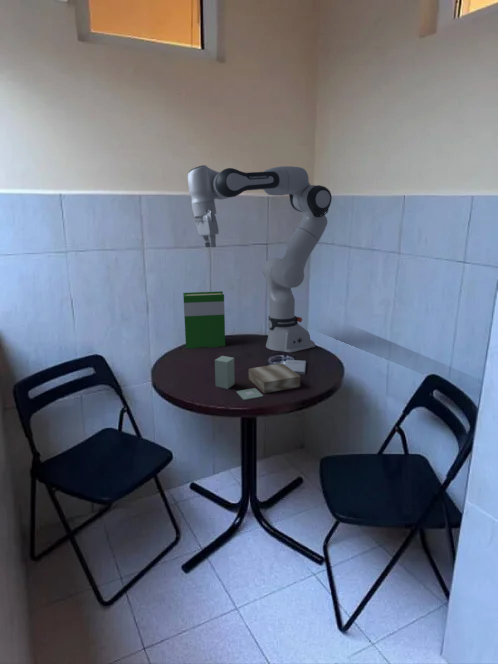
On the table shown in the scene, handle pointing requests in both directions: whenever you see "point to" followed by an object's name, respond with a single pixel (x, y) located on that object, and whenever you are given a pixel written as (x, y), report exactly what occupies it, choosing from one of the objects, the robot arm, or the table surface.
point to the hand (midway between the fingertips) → (210, 247)
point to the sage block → (224, 372)
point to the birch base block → (274, 378)
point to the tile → (249, 394)
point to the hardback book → (204, 319)
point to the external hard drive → (296, 366)
